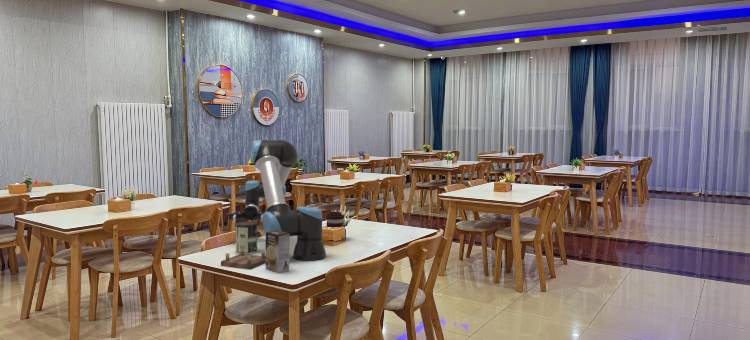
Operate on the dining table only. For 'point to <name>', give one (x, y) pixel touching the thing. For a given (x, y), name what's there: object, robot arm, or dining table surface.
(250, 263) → the standoff plate
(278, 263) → the coffee box
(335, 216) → the coffee cup
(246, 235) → the coffee can
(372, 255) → the dining table surface
